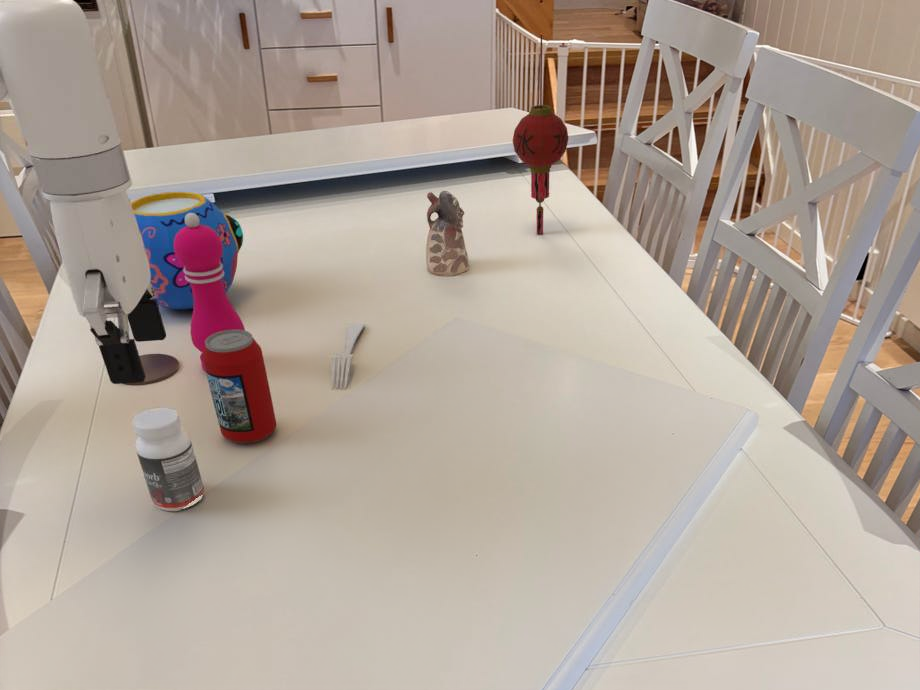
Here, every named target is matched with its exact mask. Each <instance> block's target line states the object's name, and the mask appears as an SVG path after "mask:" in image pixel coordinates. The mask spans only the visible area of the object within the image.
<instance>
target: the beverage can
mask: <svg viewBox="0 0 920 690" xmlns="http://www.w3.org/2000/svg"><path fill="white" fill-rule="evenodd" d="M202 358H203V362H204V366H205V371H206V372H205V371H204V372H205V375H206V380H207V383H208V387H209V391H210V395H211V398H212V403H213V407H214V412H215V414H216V419H217V422H218V426H219V429H220V430H219V431H220V434H221V435H222V437H224V438H225V439H227V440H229V441H232V442H235V443H237V444H253V443H257V442H260V441H262V440H265V439H266V438H268V436H270V435H271V434H272V433H273V432H274V431H275V429H276V428H277V420H276V414H275V410H274V404H273V399H272V393H271V389H270V383H269V379H268V375H267V374H268V373H267V370H266V365H265V360H264V355H263V350H262V348H261V345H260V344H259V343H258V341H256V339H255V338H254V336H253V334H252V333H251V332H249V331H247V330H245V331H244V330H225V331H221V332H217V333H215V334H212V335H211V336H209V337H208V338H207V339H206V341H205V348H204V352H203V356H202Z"/></svg>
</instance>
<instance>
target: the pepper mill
mask: <svg viewBox="0 0 920 690" xmlns="http://www.w3.org/2000/svg"><path fill="white" fill-rule="evenodd" d="M199 222H200V221H199V217H198V216H197V215H196V214H194V213H188V214H187V215H186V216H185V223H186V225H187V226H186V227H184V228H183V229H181V230H180V231H179V232H178V233H177V234H176V236H175V239H174V251H175V255H176V257H177V259H178V260H179V261H180V262H181V263H182V264H183V265H185V267H184V269H183V271H184V273H185V279H186V280H187V281H188V282H190V285H191V288H192V293H193V299H194V308H193V311H192V315H191V320H190V321H191V322H190V339H191V342H192V344H193V346H194V347H195V348H196V349H197V350H198V351H200V352H201V354H200V355H199V360H200V364H201V368H202V371H204V372H205V373H206V371H205V366H204V362H203V358H202V356H203V352H204V348H205V341H206V339H207V338H208V337H209V336H211V335H212V334H215V333H217V332H221V331H225V330H244V331H246V328H245V325H244V323H243V321H242V319H241V316H240V315H239V313H237V310H235V308H234V306H233V305H232V303H231V301H230V300H229V297H228V296H227V292H226V293H225V290H224V287H223V281H222V277H223V276H224V271H223V269H222V268H223V265H222V263H220V262H219V260H220V258H221V256H222V254H223V246H222V242H221V240H220V237H219V236H218V234H217V233H216V232H215V231H214V230H213V229H211V228H210V227H208V226H205V225H199Z"/></svg>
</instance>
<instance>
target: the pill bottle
mask: <svg viewBox="0 0 920 690" xmlns="http://www.w3.org/2000/svg"><path fill="white" fill-rule="evenodd" d="M181 421H182V420H181V418H180V414H179V412H178V411H177V410H175V409H173V408H169V407H154V408H150V409H145V410H144V411H141V412H139V413H138V414H136V416H134V417H133V418H132V426H133V430H134V434H136V436H137V439H136V442H135V452H136V455H137V458H138V461H139V464H140V467H141V471H142V473H143V476H144V480H145V483H146V487H147V489H148V492H149V495H150V498H151V501H152V504H153V505H154V506H155V507H156V508H158V509H160V510H162V511H165V512H166V511H167V512H179V511H182V510H181V509H183V508H184V507H186V506H187V505H188V504H189V503H191V502H192V501H194V500H195V499H196V498H198V497H199V496H201V495H203V494H204V495H205V487H204V484H203V479H202V476H201V472H200V468H199V465H198V462H197V457H196V453H195V450H194V446H193V443H192V440H191V437H190V435H189V433H188V432H187V431H186V430H185V429H183V428H181V427H182V422H181Z"/></svg>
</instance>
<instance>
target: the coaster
mask: <svg viewBox="0 0 920 690" xmlns="http://www.w3.org/2000/svg"><path fill="white" fill-rule="evenodd" d="M139 357H140V360H141V363H142V366H143V370H144V373H145V380H144V381H143V382H138V383H123V384H122V385H129V386H140V385H149V384H153V383H158V382H160V381H163V380H166V379H168V378H170V377H171V376H173V375H174V374H175V373H177V372H178V371H179V368H180V362H179V360H178V359H177V358H176V357H174V356H173V355H170V354H165V353H147V354H141V355H140V354H139Z"/></svg>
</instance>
